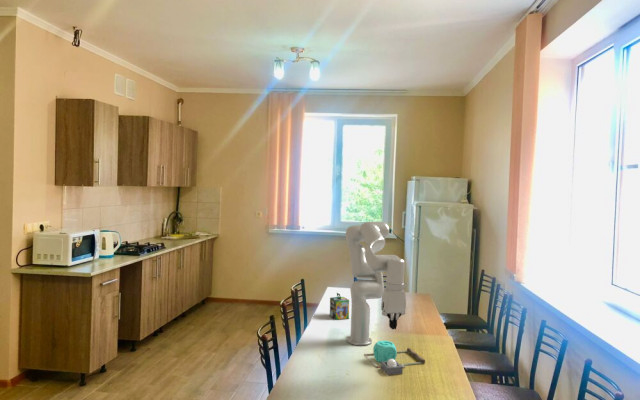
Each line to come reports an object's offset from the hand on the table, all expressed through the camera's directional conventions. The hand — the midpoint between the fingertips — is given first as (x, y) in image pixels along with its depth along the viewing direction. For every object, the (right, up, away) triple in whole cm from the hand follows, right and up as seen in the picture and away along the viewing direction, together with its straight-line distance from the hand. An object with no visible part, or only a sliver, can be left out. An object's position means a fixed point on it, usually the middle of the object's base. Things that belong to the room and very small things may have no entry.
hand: (392, 328), depth 194 cm
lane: (+2, -18, +13) cm, 23 cm away
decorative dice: (-2, -19, +12) cm, 22 cm away
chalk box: (-20, -15, +75) cm, 80 cm away
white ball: (-1, -18, +1) cm, 18 cm away
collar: (0, -19, +1) cm, 19 cm away
